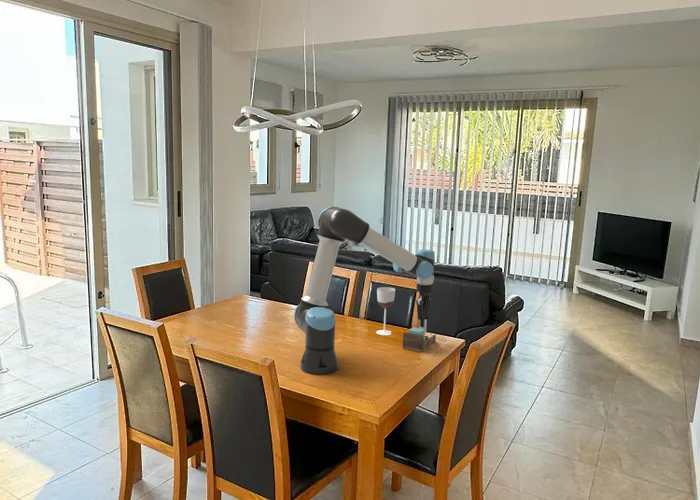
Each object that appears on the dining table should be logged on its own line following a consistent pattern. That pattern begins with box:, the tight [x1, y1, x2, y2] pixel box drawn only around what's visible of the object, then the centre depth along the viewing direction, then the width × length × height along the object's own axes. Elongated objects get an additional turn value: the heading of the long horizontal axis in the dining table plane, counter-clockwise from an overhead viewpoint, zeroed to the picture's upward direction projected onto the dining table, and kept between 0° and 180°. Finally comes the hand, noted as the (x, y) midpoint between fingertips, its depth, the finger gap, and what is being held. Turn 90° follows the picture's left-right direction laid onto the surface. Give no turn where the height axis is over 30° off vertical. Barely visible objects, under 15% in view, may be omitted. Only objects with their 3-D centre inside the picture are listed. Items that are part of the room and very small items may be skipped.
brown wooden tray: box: [402, 331, 437, 353], centre depth 235 cm, size 17×9×7 cm, turn 148°
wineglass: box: [375, 286, 396, 336], centre depth 251 cm, size 9×10×22 cm
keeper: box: [408, 326, 426, 342], centre depth 232 cm, size 5×6×7 cm
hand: (422, 332), depth 237 cm, fingers closed
